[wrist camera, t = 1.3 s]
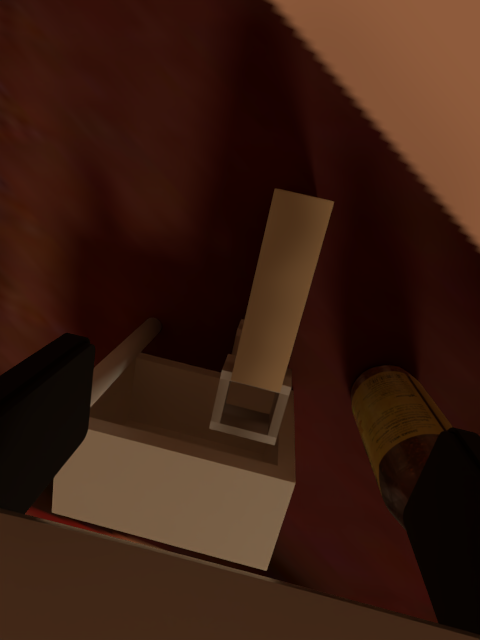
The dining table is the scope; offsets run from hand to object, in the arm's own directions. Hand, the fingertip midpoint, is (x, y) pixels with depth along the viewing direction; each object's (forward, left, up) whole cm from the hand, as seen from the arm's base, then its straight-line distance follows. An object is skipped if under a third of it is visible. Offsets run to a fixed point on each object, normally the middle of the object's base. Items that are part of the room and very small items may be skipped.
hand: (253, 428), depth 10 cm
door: (0, +2, -23) cm, 24 cm away
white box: (+4, +13, -23) cm, 27 cm away
